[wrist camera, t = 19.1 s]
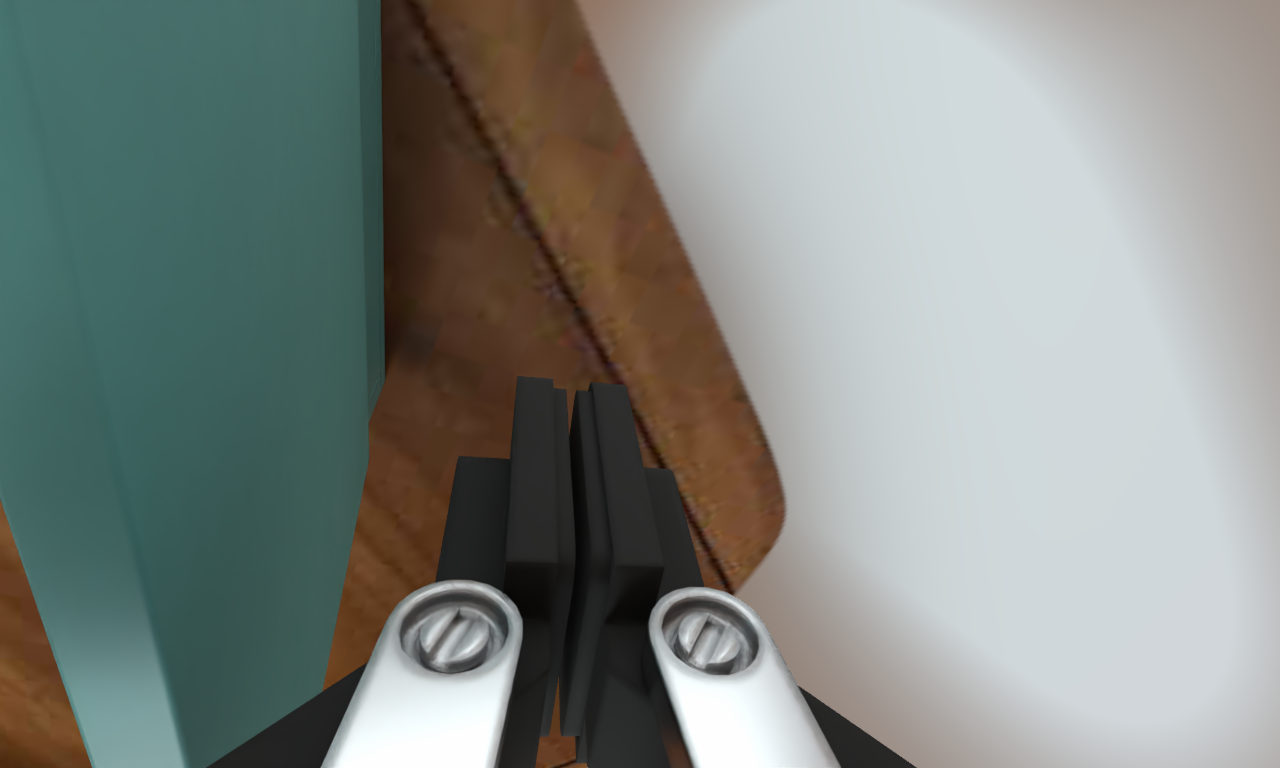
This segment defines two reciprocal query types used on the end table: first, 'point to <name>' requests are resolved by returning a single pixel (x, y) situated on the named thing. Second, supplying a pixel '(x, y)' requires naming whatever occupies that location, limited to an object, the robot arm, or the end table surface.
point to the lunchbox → (372, 192)
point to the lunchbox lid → (182, 355)
